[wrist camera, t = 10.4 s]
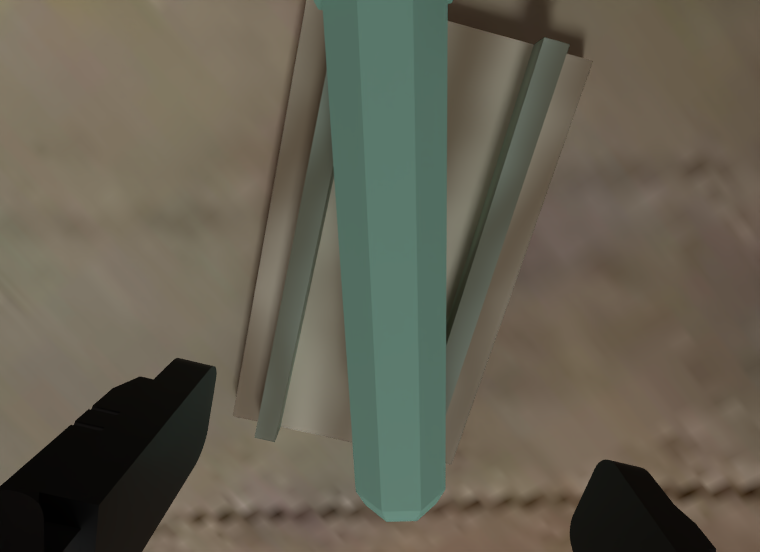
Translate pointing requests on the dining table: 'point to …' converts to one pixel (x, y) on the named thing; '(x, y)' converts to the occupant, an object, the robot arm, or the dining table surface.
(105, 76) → the dining table surface
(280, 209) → the rail
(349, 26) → the teal green cylinder
